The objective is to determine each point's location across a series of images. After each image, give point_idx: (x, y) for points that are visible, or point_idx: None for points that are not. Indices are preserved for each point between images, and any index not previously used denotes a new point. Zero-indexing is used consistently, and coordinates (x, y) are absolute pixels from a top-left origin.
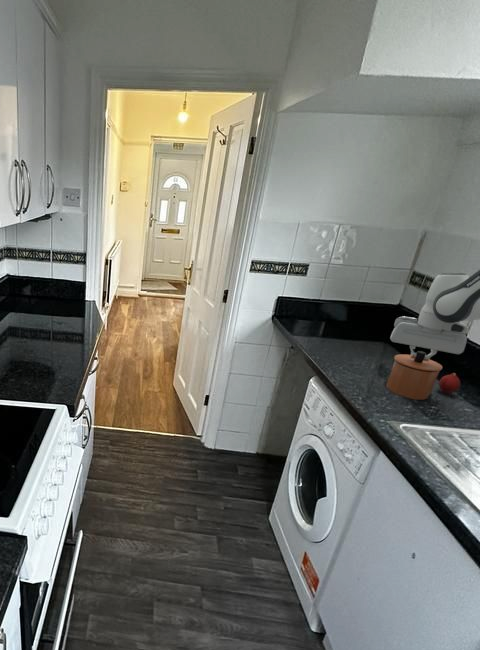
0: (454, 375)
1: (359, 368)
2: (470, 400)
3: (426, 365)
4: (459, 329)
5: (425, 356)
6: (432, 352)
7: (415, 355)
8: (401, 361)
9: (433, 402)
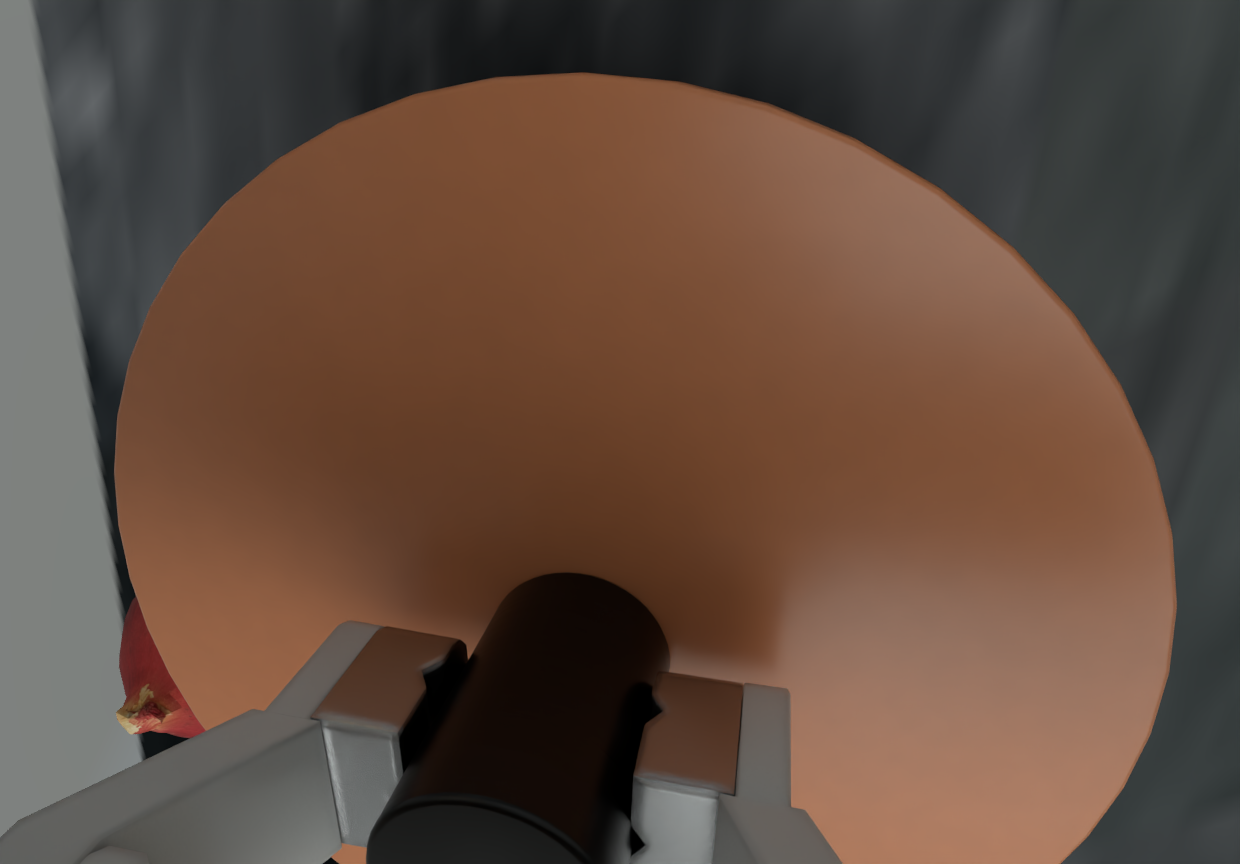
0: (138, 693)
1: (1188, 806)
2: (102, 435)
3: (405, 452)
4: None
5: (392, 719)
6: (122, 848)
7: (668, 745)
8: (1070, 403)
9: (402, 80)
